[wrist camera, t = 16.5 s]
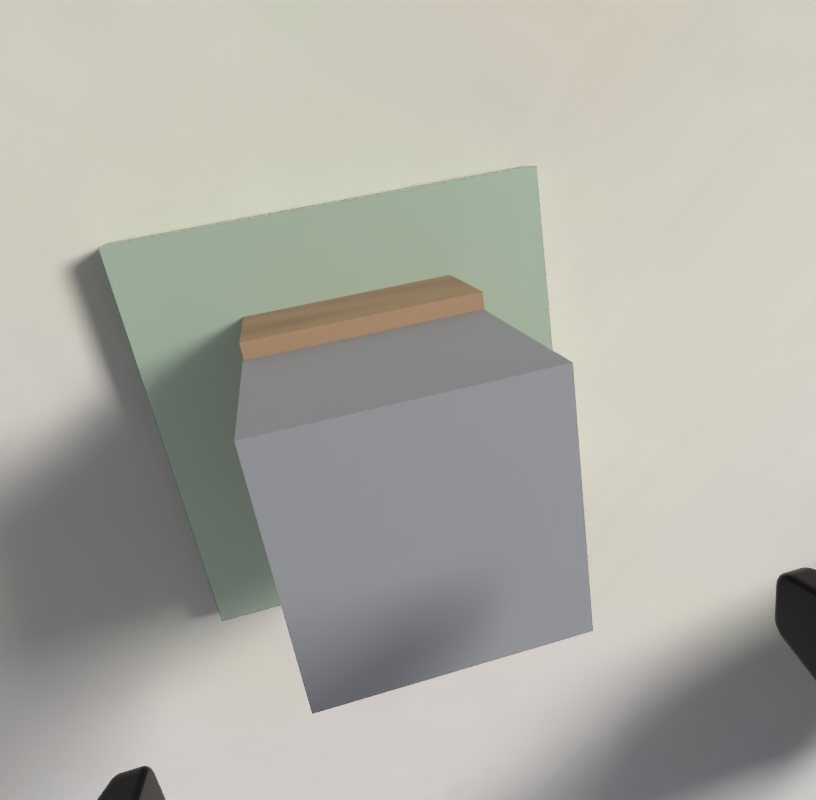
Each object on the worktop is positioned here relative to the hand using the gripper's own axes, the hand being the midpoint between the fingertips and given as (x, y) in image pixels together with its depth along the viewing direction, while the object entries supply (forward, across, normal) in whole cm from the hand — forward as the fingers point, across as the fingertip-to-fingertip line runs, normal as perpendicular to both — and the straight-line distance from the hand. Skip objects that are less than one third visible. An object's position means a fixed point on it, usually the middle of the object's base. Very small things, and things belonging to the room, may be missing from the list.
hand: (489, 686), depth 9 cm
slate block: (+8, 0, 0) cm, 9 cm away
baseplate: (+12, 0, 0) cm, 13 cm away
